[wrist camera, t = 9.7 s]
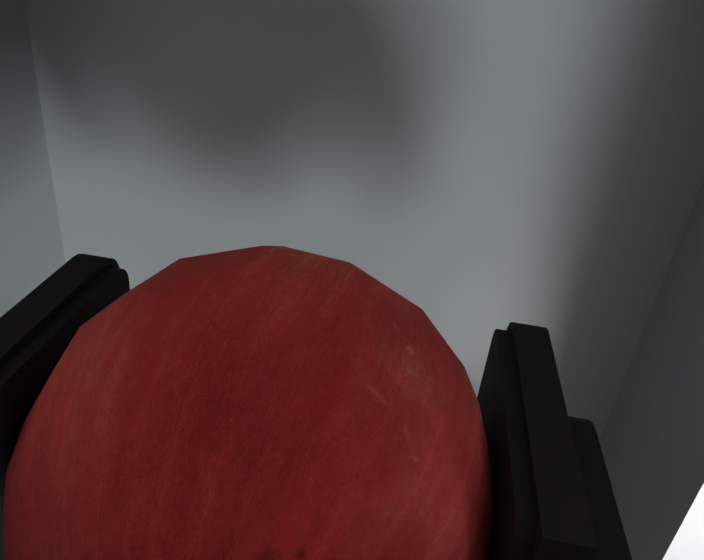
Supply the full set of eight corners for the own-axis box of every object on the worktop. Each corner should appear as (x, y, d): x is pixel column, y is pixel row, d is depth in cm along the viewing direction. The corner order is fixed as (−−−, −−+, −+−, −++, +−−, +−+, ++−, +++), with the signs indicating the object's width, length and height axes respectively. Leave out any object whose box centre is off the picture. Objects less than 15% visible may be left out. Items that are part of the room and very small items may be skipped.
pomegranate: (541, 375, 11) (683, 1106, 4) (291, 477, 13) (110, 1069, 6) (360, 95, 9) (66, 578, 2) (103, 269, 11) (-448, 786, 4)
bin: (590, 516, 17) (634, 711, 13) (80, 422, 19) (-35, 571, 14) (862, -122, 10) (1181, -165, 5) (-25, -207, 11) (-336, -296, 7)
